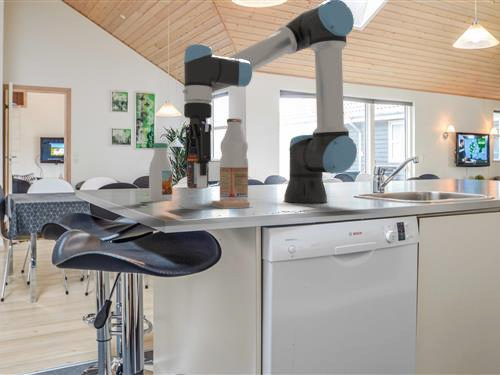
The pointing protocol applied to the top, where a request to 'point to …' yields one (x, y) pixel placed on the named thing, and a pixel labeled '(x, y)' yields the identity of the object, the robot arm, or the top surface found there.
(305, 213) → the top surface
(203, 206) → the mat
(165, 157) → the milk bottle
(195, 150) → the supplement bottle
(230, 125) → the fruit juice
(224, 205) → the tile
